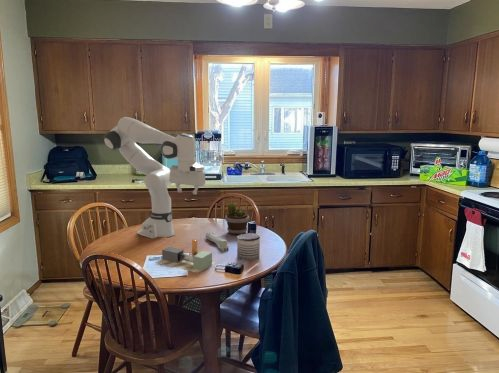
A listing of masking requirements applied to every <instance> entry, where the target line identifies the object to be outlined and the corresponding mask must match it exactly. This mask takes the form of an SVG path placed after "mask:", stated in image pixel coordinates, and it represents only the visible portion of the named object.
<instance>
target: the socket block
mask: <svg viewBox="0 0 499 373" xmlns="http://www.w3.org/2000/svg"><path fill="white" fill-rule="evenodd" d="M212 262H213V252H210V251H206V250H202V251H200V252H197V254H196V255H194V256H193V268H194V269H198V270H202V271H204V270H206V269H207V267H208V268H209V267H211V266H212V265H213V264H212ZM202 271H201V272H202Z"/></svg>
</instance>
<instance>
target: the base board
mask: <svg viewBox="0 0 499 373" xmlns="http://www.w3.org/2000/svg"><path fill="white" fill-rule="evenodd" d="M155 263H156V264H160V265H164V266H168V267H172V268H177V269H181V270H184V271H188V272H193V273H197V274H199V273H201V272H202V270H198V269H194V268H193V262H189V261H184V260H182V261H180V262H178V263H175V262H171V261H167V260H163V259H159V260H158V261H156V262H155ZM214 264H216V261H212V265H214ZM207 268H209V267H207ZM207 268H206V269H207Z"/></svg>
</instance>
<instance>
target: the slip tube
mask: <svg viewBox="0 0 499 373" xmlns="http://www.w3.org/2000/svg"><path fill="white" fill-rule="evenodd" d="M191 253H192V254H191V255H190V254H186V253H184V254H182V253H179V254H178V259H180V260H184V261H189V262H193V256H194V255H196V254H198V239H192V240H191Z"/></svg>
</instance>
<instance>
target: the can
mask: <svg viewBox="0 0 499 373" xmlns="http://www.w3.org/2000/svg"><path fill="white" fill-rule="evenodd" d="M236 239H237V242H236V244H237V246H236V247H237V249H236V256H237V258H238V259H240V260H244V261H255V260H256V261H258V260H259V259H260V248H261V247H260V245H261V243H260V242H261V235H260V234H258V233H250V232H249V233H245V234H241V235H236Z"/></svg>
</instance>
